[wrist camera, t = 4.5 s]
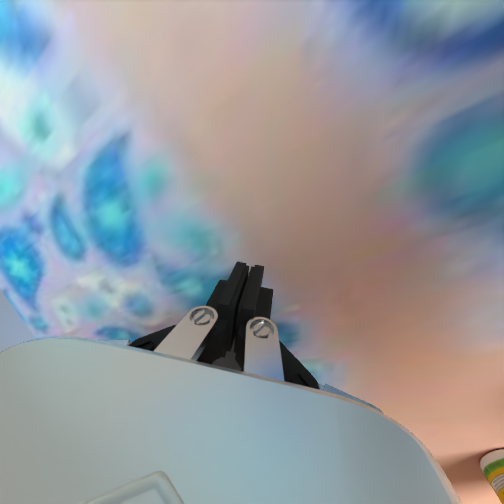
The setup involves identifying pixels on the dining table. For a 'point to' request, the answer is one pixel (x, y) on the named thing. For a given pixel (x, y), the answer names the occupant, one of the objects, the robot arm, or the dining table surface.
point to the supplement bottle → (494, 471)
